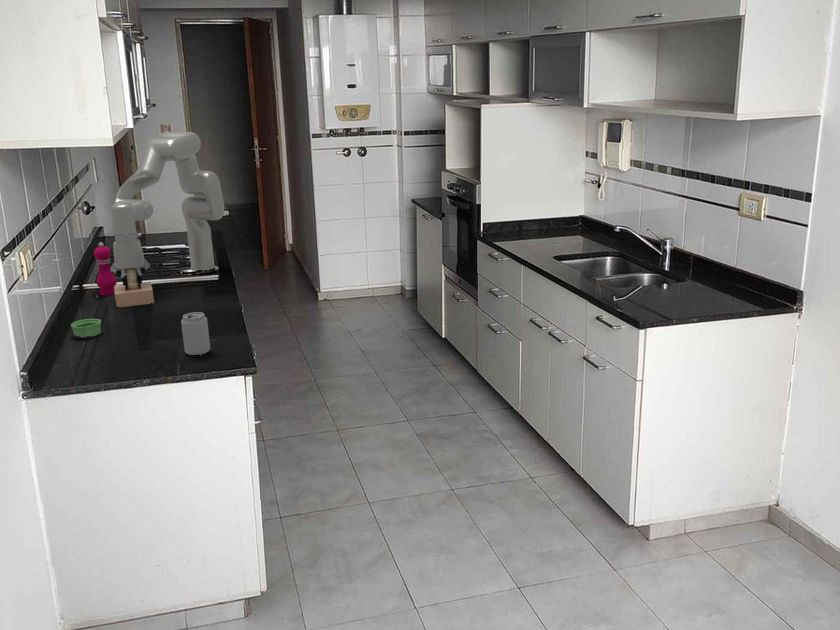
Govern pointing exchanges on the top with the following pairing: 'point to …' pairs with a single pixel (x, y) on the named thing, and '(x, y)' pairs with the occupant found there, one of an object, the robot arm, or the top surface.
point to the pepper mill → (104, 271)
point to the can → (195, 333)
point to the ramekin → (86, 327)
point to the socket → (134, 295)
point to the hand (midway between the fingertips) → (132, 285)
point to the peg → (131, 279)
